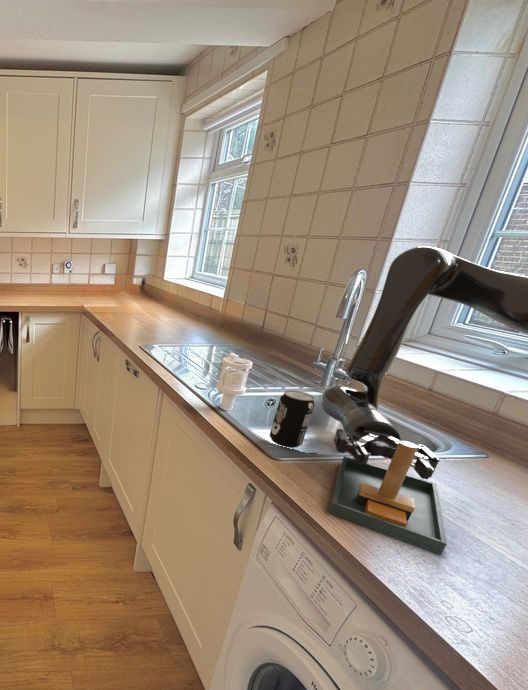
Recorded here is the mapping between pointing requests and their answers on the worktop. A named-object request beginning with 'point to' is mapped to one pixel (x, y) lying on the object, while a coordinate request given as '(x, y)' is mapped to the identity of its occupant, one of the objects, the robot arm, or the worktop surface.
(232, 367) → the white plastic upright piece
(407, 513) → the brush
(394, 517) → the orange wooden block
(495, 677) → the worktop surface
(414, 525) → the tray
